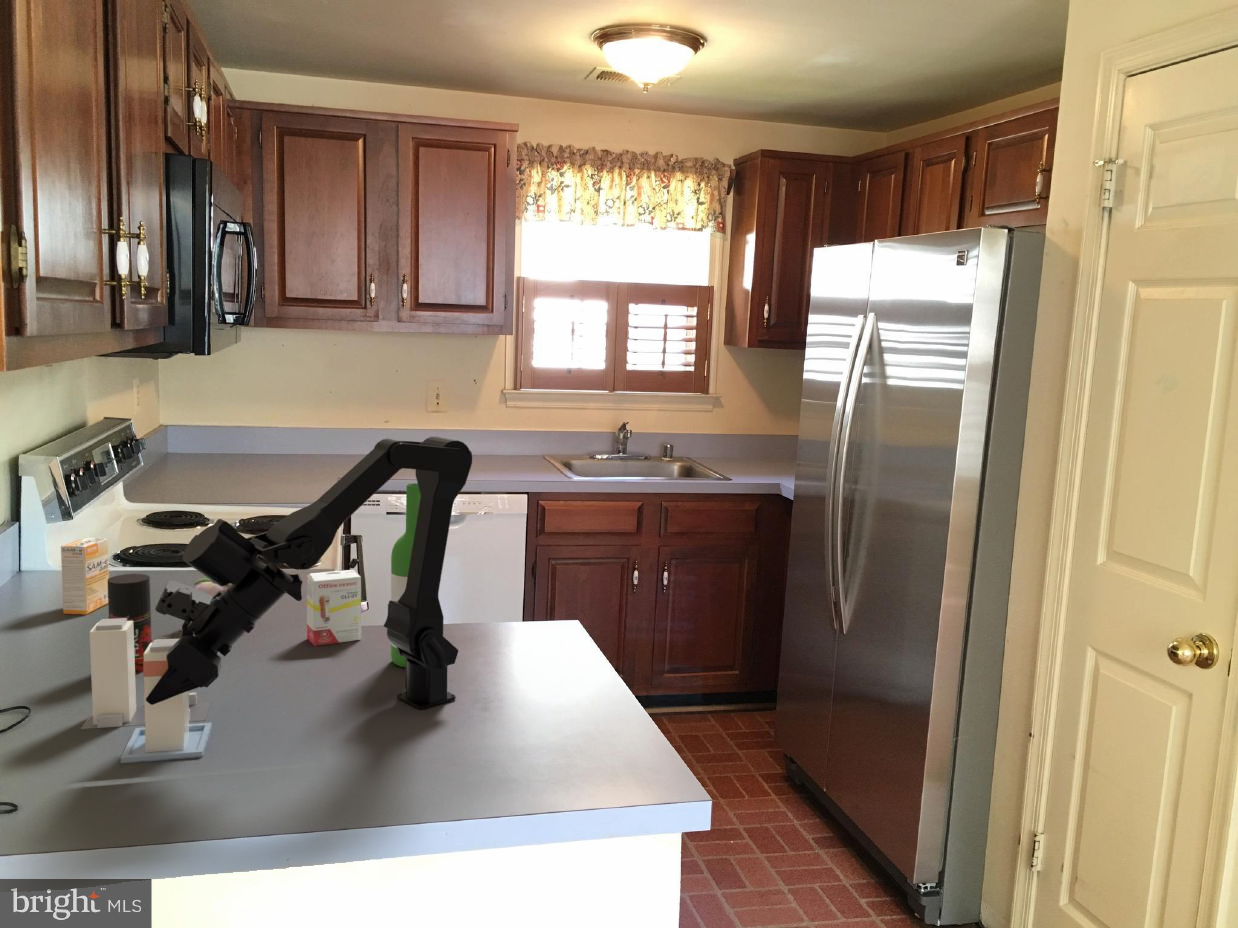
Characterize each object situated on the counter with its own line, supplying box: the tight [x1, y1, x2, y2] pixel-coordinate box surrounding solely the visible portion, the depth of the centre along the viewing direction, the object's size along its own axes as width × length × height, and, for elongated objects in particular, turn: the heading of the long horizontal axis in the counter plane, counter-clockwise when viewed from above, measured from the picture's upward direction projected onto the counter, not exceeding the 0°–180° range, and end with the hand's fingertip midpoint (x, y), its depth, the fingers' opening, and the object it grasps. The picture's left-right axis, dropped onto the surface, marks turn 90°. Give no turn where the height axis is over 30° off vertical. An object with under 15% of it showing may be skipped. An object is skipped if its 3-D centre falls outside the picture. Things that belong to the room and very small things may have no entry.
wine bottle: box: [390, 482, 440, 668], centre depth 161 cm, size 8×8×30 cm
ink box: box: [306, 569, 362, 647], centre depth 172 cm, size 9×5×12 cm, turn 120°
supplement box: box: [60, 537, 110, 615], centre depth 185 cm, size 8×5×13 cm, turn 179°
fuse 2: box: [142, 638, 190, 752], centre depth 126 cm, size 5×5×14 cm
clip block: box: [80, 692, 212, 730], centre depth 136 cm, size 16×7×2 cm, turn 106°
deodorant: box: [107, 573, 153, 675], centre depth 153 cm, size 6×6×15 cm
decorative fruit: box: [193, 577, 232, 596], centre depth 177 cm, size 9×8×10 cm
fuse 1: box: [89, 618, 137, 725], centre depth 134 cm, size 4×4×14 cm
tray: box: [120, 722, 213, 765], centre depth 127 cm, size 9×9×1 cm
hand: (154, 689), depth 125 cm, fingers open, 8 cm apart
